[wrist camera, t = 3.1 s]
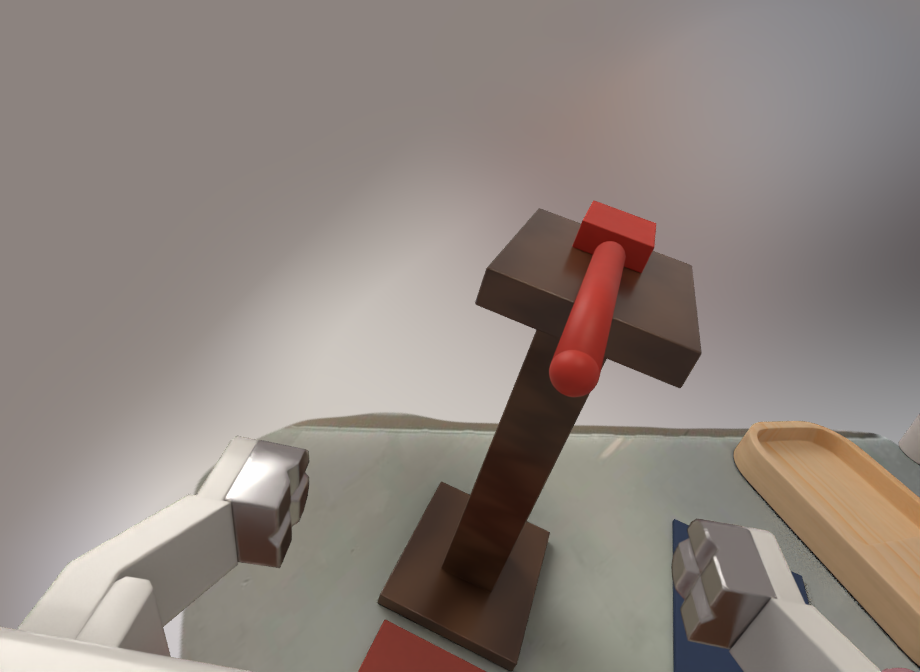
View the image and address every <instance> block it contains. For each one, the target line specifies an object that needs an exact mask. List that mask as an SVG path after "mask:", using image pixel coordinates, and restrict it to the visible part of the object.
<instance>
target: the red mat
mask: <svg viewBox="0 0 920 672" xmlns="http://www.w3.org/2000/svg"><path fill="white" fill-rule="evenodd" d="M358 672H486V671H484V670H482V669H480V668H478V667H476V666H474V665H472V664H470V663H469V662H467V661H465V660H463V659H461V658H459V657H457V656H455V655H453V654H451V653H449V652H447V651H445V650H443V649H441V648H439V647H438V646H436V645H434V644H432V643H430V642H428V641H426V640H424V639H422V638H420V637H418V636H416V635H414V634H412V633H410V632H408V631H407V630H405V629H403V628H401V627H399V626H397V625H395V624H393V623H391V622H389V621H387V620H384V622H383V624H382V626H381V628H380V630H379V632H378V634H377V636H376V638H375V639H374V641H373V643H372V645H371V647H370V649H369V651H368V653H367V655H366V657H365V659H364V661H363V663H362V665H361V667H360V669H359V671H358Z"/></svg>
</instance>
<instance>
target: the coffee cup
mask: <svg viewBox="0 0 920 672" xmlns="http://www.w3.org/2000/svg"><path fill="white" fill-rule="evenodd" d="M899 447H900V448H901V450H902V451H903V452H904V453H905V454H906V455H907V456H908V457H909V458H911V459H912V460H913V461H915V462H916V463H918V464H919V465H920V414H919V415H918V417H917V418H916V419H915V421H914V422H913V423H912V425H911V426H910V427H909V429H908V430H907V432H906V433H905V434H904V436H903V437H902V439H901V440H900V441H899Z"/></svg>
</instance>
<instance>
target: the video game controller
mask: <svg viewBox="0 0 920 672" xmlns="http://www.w3.org/2000/svg"><path fill="white" fill-rule="evenodd" d="M882 672H914V671H912V670H909V669H906V668H892V669H885V670H883V671H882Z"/></svg>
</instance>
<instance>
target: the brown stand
mask: <svg viewBox="0 0 920 672" xmlns="http://www.w3.org/2000/svg"><path fill="white" fill-rule="evenodd" d="M580 226H581V224H580V223H578V222H575V221H572V220H569V219H567V218H564V217H562V216H559V215H556V214H553V213H551V212H548V211H545V210H543V209H538V210H537V211H536V212H535V213H534V215H533V216H532V217H531V218H530V219H529V220H528V221H527V223H526V224H525V225H524V226H523V227H522V228H521V229H520V231H519V232H518V233H517V234H516V235H515V236H514V238H513V239H512V240H511V241H510V242H509V243H508V244H507V245H506V247H505V248H504V249H503V250H502V251H501V252H500V254H499V255H498V256H497V257H496V258H495V259H494V260H493V261H492V263H491V264H490V265H489V266H488V267H487V268H486V271H485V275H484V277H483V280H482V283H481V287H480V290H479V293H478V296H477V299H476V302H475V303H476V305H478V306H480V307H483V308H485V309H488V310H490V311H493V312H495V313H498V314H500V315H503V316H505V317H507V318H510V319H512V320H515V321H517V322H520V323H522V324H524V325H527V326H529V327H532V328H534V329H536V333H535V335H534V338H533V340H532V343H531V345H530V348H529V350H528V353H527V355H526V358H525V360H524V362H523V365H522V367H521V370H520V372H519V375H518V378H517V380H516V382H515V385H514V388H513V390H512V392H511V395H510V397H509V400H508V402H507V405H506V407H505V410H504V412H503V415H502V417H501V420H500V422H499V425H498V427H497V430H496V432H495V435H494V437H493V440H492V442H491V445H490V447H489V450H488V452H487V455H486V457H485V459H484V462H483V464H482V467H481V469H480V472H479V474H478V477H477V479H476V482H475V484H474V487H473V489H472V492H471V494H470V495H469V494H467V493H465V492H463V491H461V490H458V489H456V488H454V487H452V486H450V485H448V484H446V483H443V482H441V483H440V484H439V486H438V488H437V490H436V492H435V494H434V495H433V497H432V499H431V501H430V503H429V505H428V507H427V508H426V510H425V512H424V514H423V516H422V518H421V520H420V521H419V523H418V525H417V527H416V529H415V531H414V532H413V534H412V536H411V538H410V540H409V542H408V544H407V545H406V547H405V549H404V551H403V553H402V555H401V557H400V558H399V560H398V562H397V564H396V566H395V568H394V569H393V571H392V573H391V575H390V577H389V579H388V581H387V582H386V584H385V586H384V588H383V590H382V592H381V593H380V596H379V599H378V603H379V604H381V605H383V606H385V607H387V608H388V609H390V610H392V611H394V612H396V613H398V614H400V615H402V616H404V617H406V618H408V619H410V620H412V621H414V622H416V623H418V624H420V625H422V626H424V627H426V628H427V629H429V630H431V631H433V632H435V633H437V634H439V635H441V636H443V637H445V638H447V639H449V640H451V641H453V642H455V643H457V644H459V645H461V646H463V647H465V648H467V649H468V650H470V651H472V652H474V653H476V654H478V655H480V656H482V657H484V658H486V659H488V660H490V661H492V662H494V663H496V664H498V665H500V666H502V667H504V668H506V669H507V670H509V671H513V670H514V668H515V666H516V665H517V661H518V657H519V654H520V650H521V646H522V642H523V638H524V634H525V630H526V626H527V622H528V618H529V614H530V610H531V606H532V602H533V598H534V594H535V590H536V586H537V582H538V578H539V574H540V570H541V566H542V562H543V558H544V554H545V550H546V546H547V542H548V538H549V535H550V532H548V531H546V530H544V529H542V528H540V527H538V526H535V525H533V524H531V523H529V522H527V519H528V517H529V515H530V513H531V511H532V509H533V507H534V505H535V503H536V501H537V499H538V497H539V495H540V493H541V491H542V489H543V487H544V485H545V483H546V481H547V479H548V477H549V475H550V473H551V471H552V469H553V467H554V465H555V463H556V461H557V459H558V457H559V455H560V452H561V450H562V448H563V446H564V444H565V442H566V440H567V438H568V436H569V434H570V432H571V430H572V428H573V426H574V424H575V422H576V420H577V418H578V416H579V414H580V411H581V410H582V408H583V406H584V404H585V402H586V400H587V398H588V396H589V393H588V394H586V395H584V396H581V397H568V396H565V395H563V394H561V393H560V392H559V391H557V390H556V388H555V387H554V386H553V384H552V383H551V380H550V376H549V368H550V364H551V361H552V359H553V356H554V354H555V351H556V349H557V346H558V343H559V341H560V338H561V336H562V333H563V331H564V328H565V325H566V323H567V320H568V318H569V315H570V313H571V310H572V308H573V305H574V302H575V300H576V297H577V295H578V292H579V290H580V287H581V284H582V282H583V279H584V277H585V274H586V272H587V269H588V266H589V264H590V261H591V259H592V256H593V255H592V254H590V253H587V252H584V251H582V250H579V249H577V248H574V247H572V245H573V243H574V241H575V238H576V236H577V233H578V231H579V228H580ZM700 345H701V344H700V336H699V326H698V317H697V308H696V300H695V290H694V281H693V272H692V266H691V265H689V264H687V263H684V262H681V261H679V260H676V259H673V258H670V257H668V256H665V255H663V254H660V253H657V252H655V251H652V253H651V255H650V257H649V260H648V262H647V264H646V266H645V268H644V270H643V272H642V273H639V272H637V271H634V270H631V269H629V268H626V267H624V268H623V272H622V277H621V281H620V286H619V290H618V295H617V299H616V304H615V309H614V313H613V318H612V322H611V327H610V331H609V336H608V340H607V345H606V349H605V354H604V359H603V363H602V367H603V365H604V363H605V361H606V359H609V360H612V361H614V362H617V363H619V364H622V365H624V366H626V367H629V368H632V369H634V370H636V371H639V372H641V373H644V374H646V375H649V376H651V377H653V378H656V379H658V380H661V381H663V382H665V383H668V384H670V385H673V386H676V387H678V388H681V387H682V386H683V384H684V382H685V380H686V379H687V377H688V376H689V374H690V372H691V370H692V369H693V367H694V366H695V364H696V362H697V360H698V359H699V357H700V355H701V346H700ZM601 369H602V368H601Z"/></svg>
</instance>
